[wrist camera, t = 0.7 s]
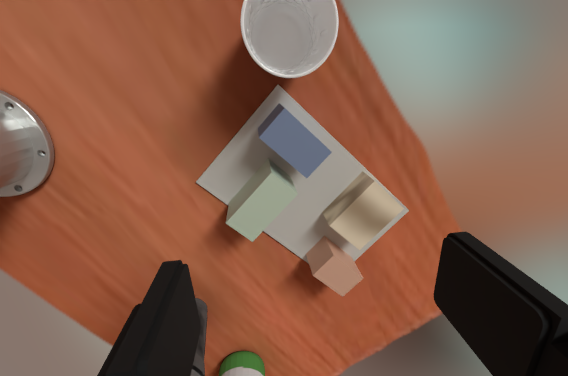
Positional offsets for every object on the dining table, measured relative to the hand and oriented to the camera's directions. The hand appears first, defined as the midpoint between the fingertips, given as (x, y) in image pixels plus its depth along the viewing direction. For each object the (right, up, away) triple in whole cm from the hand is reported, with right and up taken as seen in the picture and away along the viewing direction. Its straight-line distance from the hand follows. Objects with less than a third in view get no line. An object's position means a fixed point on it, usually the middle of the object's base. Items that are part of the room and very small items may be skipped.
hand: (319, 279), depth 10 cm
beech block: (+9, +1, +30) cm, 31 cm away
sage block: (-4, +3, +27) cm, 28 cm away
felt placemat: (+2, +2, +29) cm, 29 cm away
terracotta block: (+6, -7, +33) cm, 34 cm away
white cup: (-2, +20, +22) cm, 30 cm away
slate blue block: (-1, +10, +25) cm, 27 cm away
